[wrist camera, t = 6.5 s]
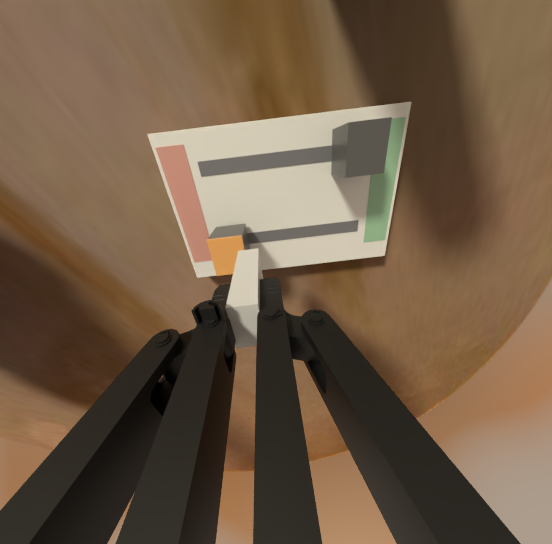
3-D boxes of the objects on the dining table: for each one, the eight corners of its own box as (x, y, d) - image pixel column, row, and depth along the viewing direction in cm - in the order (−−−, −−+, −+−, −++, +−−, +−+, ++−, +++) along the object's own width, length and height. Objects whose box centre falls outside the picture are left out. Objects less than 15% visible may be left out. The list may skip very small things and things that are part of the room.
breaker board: (201, 269, 25) (186, 296, 20) (158, 136, 18) (118, 127, 13) (376, 249, 25) (404, 271, 20) (397, 106, 18) (448, 86, 13)
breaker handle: (224, 258, 22) (216, 275, 19) (216, 227, 20) (206, 240, 17) (251, 254, 22) (248, 272, 19) (245, 223, 20) (241, 236, 17)
